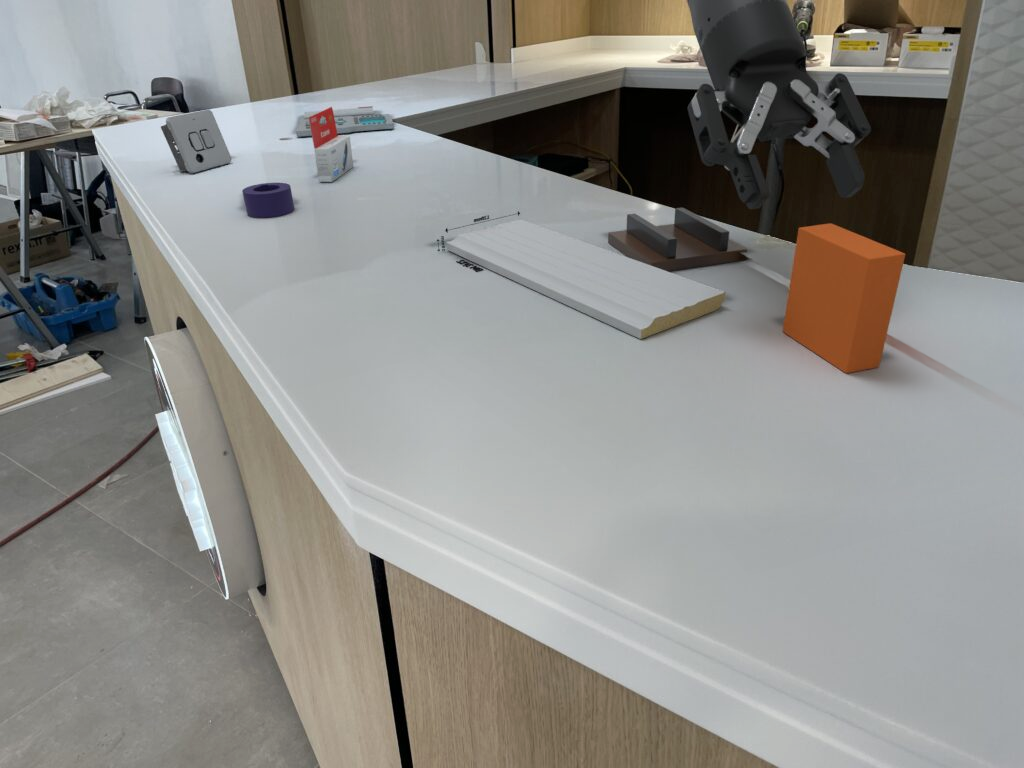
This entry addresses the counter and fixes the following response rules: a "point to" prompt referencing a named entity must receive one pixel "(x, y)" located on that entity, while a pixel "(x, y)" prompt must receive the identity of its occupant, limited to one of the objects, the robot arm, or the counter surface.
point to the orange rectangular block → (842, 295)
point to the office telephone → (349, 121)
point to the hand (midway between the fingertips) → (807, 198)
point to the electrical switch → (196, 141)
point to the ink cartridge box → (330, 147)
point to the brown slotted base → (676, 242)
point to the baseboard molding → (587, 276)
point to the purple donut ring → (268, 200)
